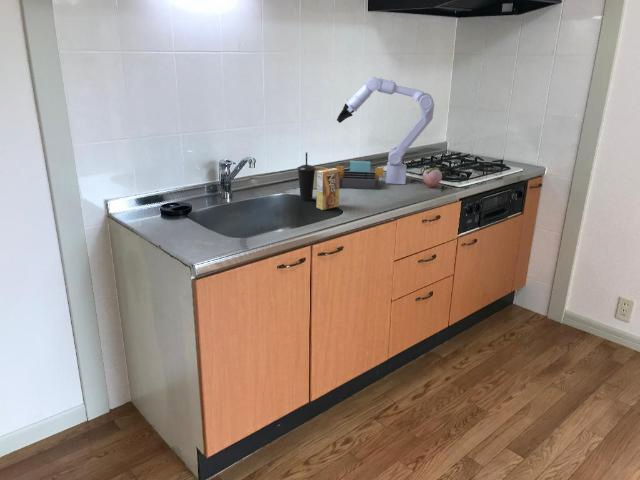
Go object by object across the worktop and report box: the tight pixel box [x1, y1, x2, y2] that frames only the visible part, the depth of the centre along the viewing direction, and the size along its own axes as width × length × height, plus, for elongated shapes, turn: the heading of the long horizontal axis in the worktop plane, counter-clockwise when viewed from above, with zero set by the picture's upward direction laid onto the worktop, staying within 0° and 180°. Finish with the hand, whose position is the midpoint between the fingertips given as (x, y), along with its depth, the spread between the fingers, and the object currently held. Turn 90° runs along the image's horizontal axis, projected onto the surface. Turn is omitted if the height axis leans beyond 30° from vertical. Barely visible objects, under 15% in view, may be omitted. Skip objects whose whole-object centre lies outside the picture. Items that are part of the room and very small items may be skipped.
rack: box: [335, 165, 384, 191], centre depth 243 cm, size 22×15×8 cm
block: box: [349, 160, 372, 172], centre depth 257 cm, size 10×2×8 cm, turn 84°
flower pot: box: [313, 166, 328, 190], centre depth 237 cm, size 9×9×9 cm
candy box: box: [316, 167, 341, 211], centre depth 207 cm, size 9×4×15 cm, turn 129°
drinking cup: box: [296, 151, 316, 202], centre depth 217 cm, size 8×8×20 cm
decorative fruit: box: [422, 166, 443, 188], centre depth 241 cm, size 9×8×10 cm
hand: (338, 120), depth 244 cm, fingers open, 7 cm apart
